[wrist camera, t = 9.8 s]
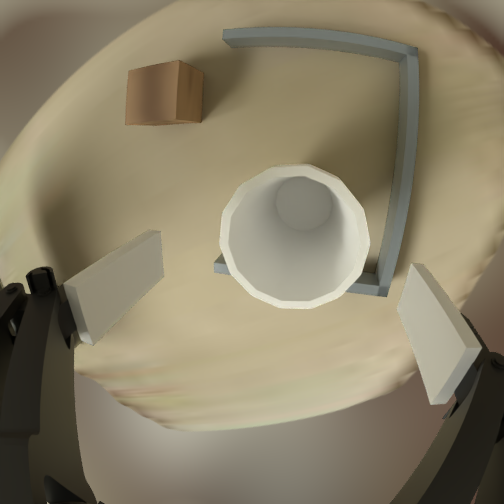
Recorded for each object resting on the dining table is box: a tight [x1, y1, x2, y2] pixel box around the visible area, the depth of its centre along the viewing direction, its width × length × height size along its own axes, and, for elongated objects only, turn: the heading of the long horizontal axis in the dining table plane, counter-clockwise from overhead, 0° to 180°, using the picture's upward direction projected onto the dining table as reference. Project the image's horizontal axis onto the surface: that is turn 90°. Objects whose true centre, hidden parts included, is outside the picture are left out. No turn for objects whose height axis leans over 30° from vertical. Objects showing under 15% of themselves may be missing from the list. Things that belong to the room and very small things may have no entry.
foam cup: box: [219, 164, 371, 309], centre depth 22 cm, size 10×9×13 cm
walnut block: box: [125, 60, 204, 126], centre depth 24 cm, size 6×6×6 cm
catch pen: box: [214, 27, 419, 297], centre depth 25 cm, size 19×26×3 cm
